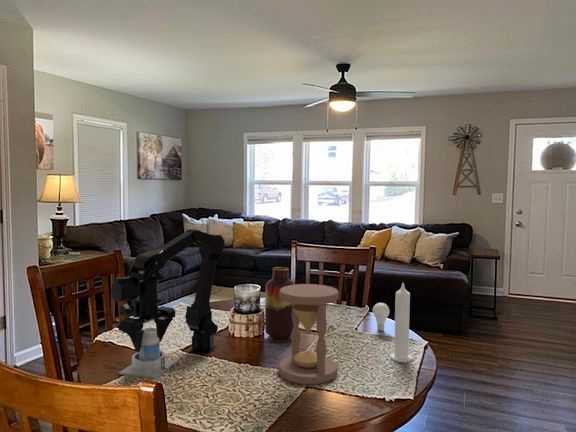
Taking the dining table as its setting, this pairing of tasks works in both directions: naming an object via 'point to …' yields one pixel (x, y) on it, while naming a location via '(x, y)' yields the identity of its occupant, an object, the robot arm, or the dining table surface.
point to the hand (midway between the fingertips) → (148, 346)
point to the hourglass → (307, 311)
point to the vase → (278, 308)
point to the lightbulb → (380, 314)
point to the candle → (401, 326)
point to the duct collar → (148, 367)
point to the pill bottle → (149, 345)
